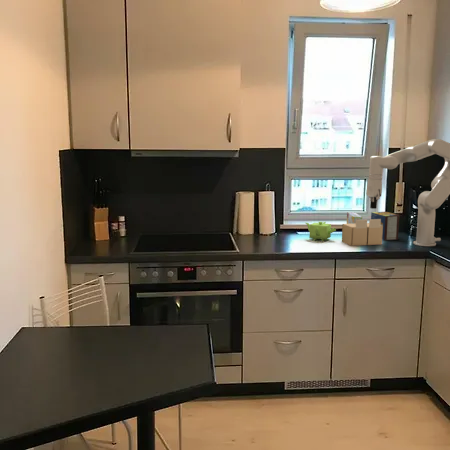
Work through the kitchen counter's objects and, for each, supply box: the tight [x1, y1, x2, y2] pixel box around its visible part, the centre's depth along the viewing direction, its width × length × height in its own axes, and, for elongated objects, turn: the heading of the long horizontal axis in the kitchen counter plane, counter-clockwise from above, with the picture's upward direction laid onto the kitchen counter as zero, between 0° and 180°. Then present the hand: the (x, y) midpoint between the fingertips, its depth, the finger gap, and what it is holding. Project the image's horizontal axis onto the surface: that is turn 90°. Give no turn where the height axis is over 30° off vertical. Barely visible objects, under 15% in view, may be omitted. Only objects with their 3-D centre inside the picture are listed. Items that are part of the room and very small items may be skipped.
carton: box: [341, 222, 383, 247], centre depth 316 cm, size 20×12×11 cm, turn 103°
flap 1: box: [351, 219, 368, 247], centre depth 308 cm, size 9×1×15 cm, turn 103°
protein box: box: [370, 211, 400, 241], centre depth 333 cm, size 10×15×16 cm
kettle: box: [305, 221, 337, 242], centre depth 326 cm, size 15×14×11 cm
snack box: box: [346, 211, 363, 224], centre depth 332 cm, size 21×6×15 cm, turn 179°
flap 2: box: [367, 218, 383, 246], centre depth 310 cm, size 9×1×15 cm, turn 103°
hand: (373, 208), depth 313 cm, fingers closed
